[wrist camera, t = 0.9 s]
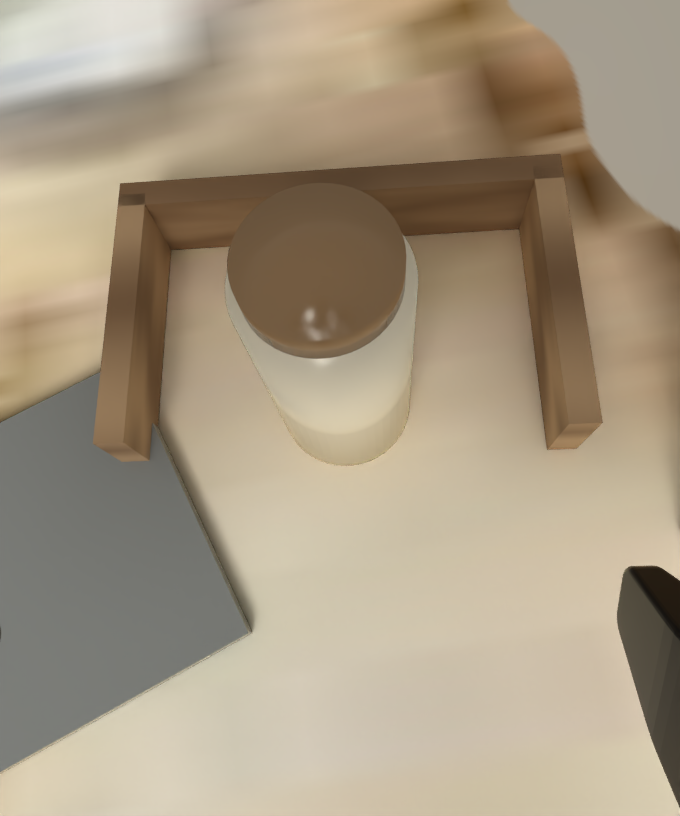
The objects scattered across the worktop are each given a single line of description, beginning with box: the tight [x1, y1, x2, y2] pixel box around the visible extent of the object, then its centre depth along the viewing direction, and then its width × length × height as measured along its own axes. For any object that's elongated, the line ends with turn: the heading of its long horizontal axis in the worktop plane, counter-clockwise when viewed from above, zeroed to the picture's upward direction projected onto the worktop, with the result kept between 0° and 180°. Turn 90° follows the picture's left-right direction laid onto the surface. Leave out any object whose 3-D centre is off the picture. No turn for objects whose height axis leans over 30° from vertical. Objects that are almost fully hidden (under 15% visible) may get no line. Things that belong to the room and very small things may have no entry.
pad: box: [0, 372, 252, 774], centre depth 23 cm, size 11×11×1 cm
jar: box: [225, 183, 418, 466], centre depth 19 cm, size 5×5×10 cm
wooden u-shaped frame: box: [93, 154, 603, 462], centre depth 23 cm, size 10×16×3 cm, turn 91°
